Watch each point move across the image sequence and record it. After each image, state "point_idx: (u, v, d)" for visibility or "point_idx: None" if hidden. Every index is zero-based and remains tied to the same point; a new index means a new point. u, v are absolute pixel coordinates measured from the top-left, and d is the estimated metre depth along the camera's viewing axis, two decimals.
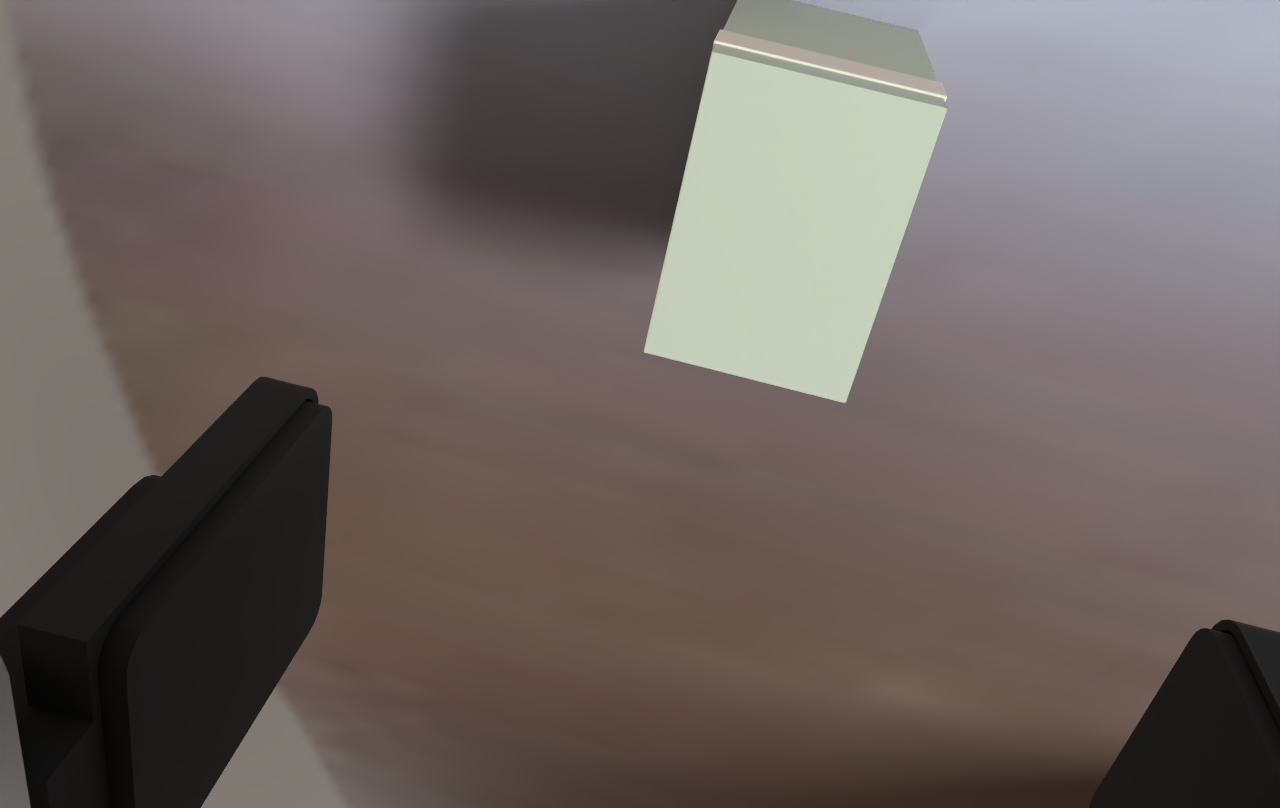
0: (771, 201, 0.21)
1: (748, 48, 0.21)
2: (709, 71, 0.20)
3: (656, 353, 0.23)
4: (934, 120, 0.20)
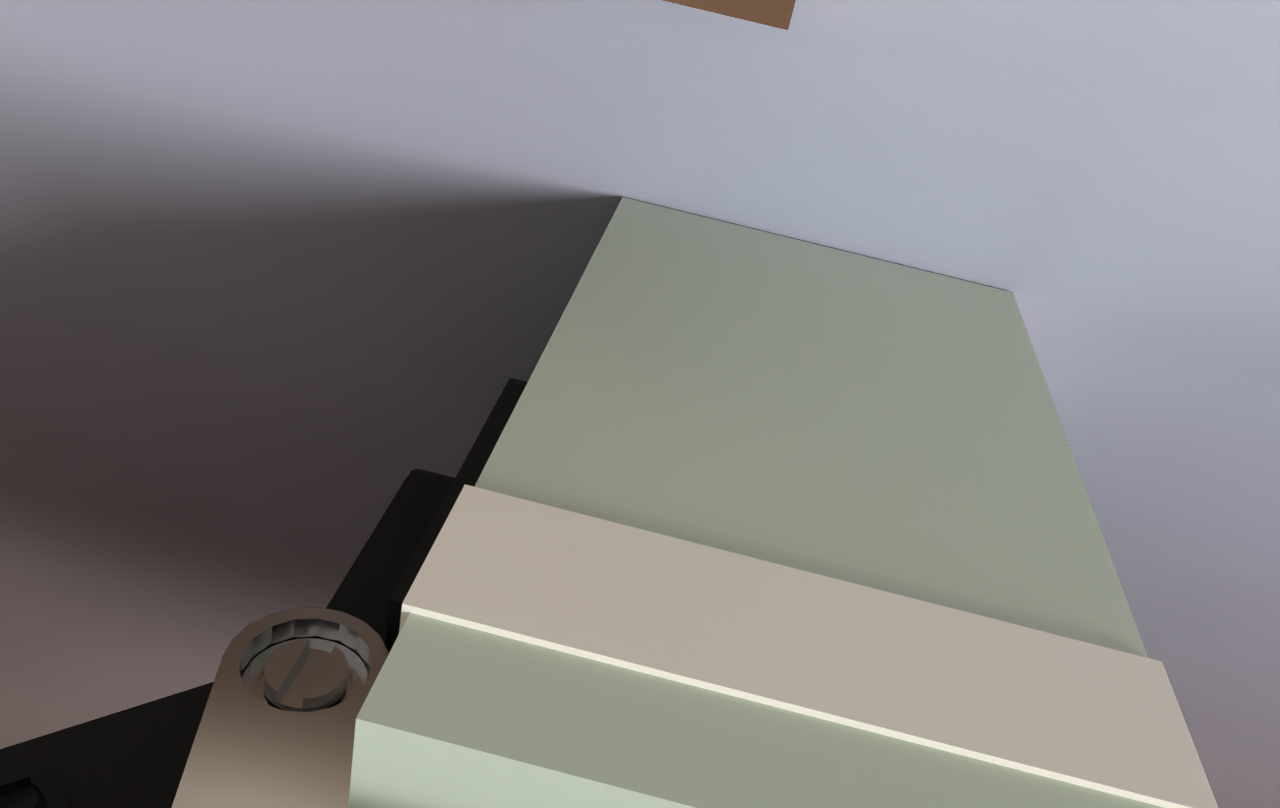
0: None
1: (522, 629, 0.06)
2: (357, 769, 0.06)
3: None
4: None
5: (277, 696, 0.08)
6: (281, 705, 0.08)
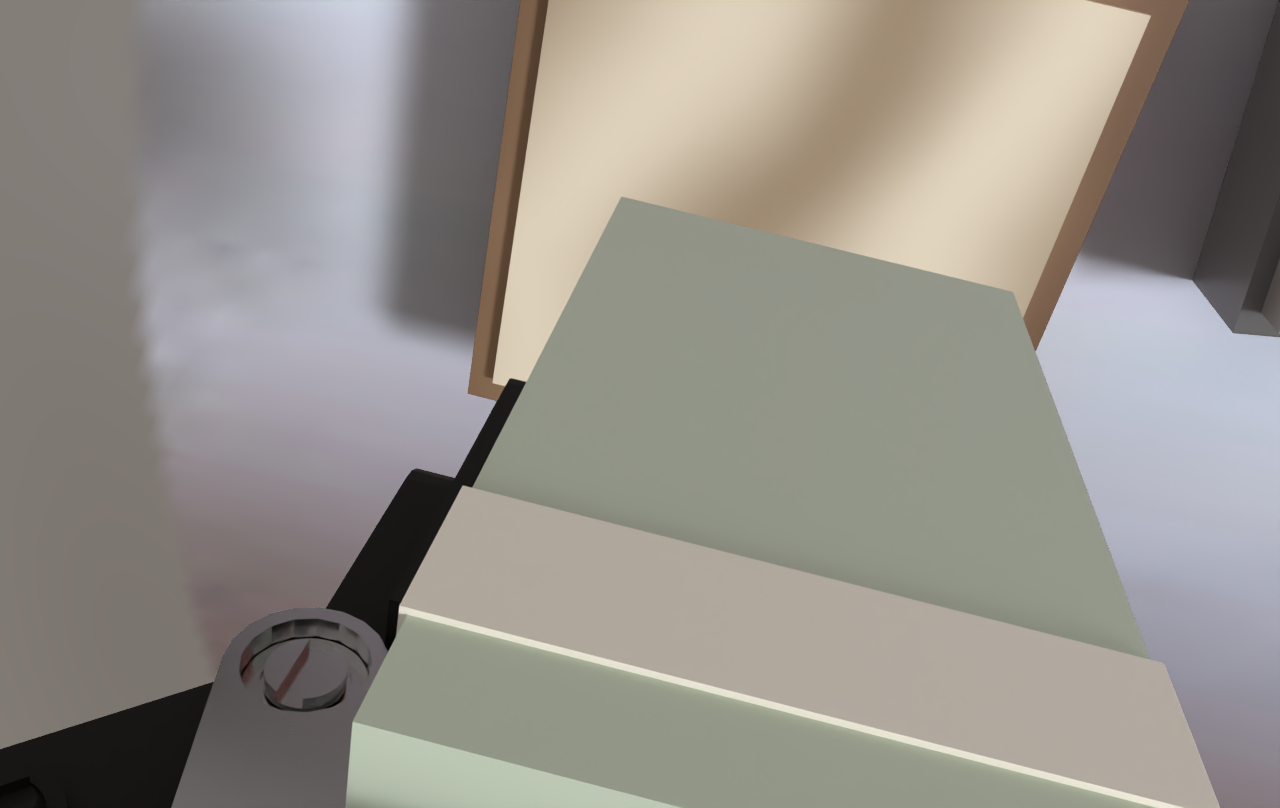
0: None
1: (520, 631, 0.06)
2: (354, 773, 0.05)
3: None
4: None
5: (276, 696, 0.08)
6: (280, 705, 0.08)
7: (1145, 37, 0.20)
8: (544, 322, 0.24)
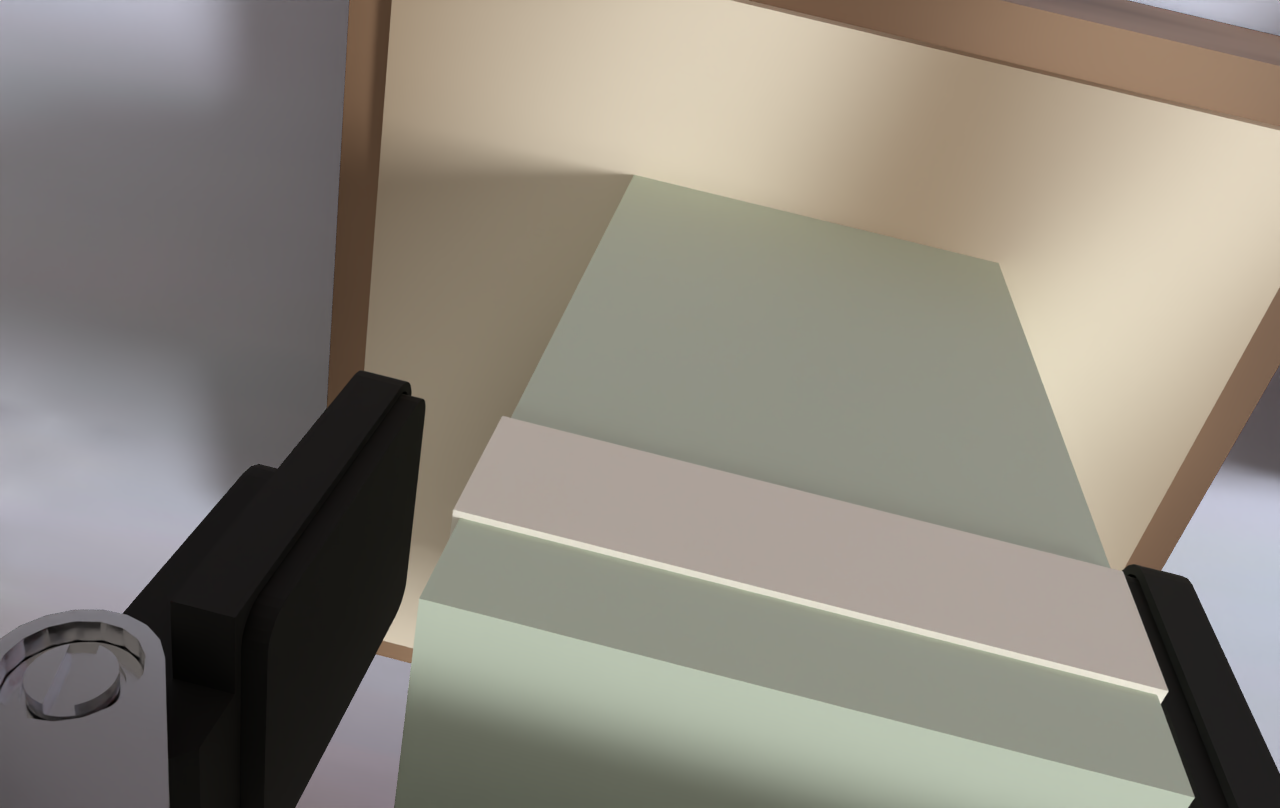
0: None
1: (558, 532, 0.07)
2: (418, 646, 0.06)
3: None
4: None
5: (43, 709, 0.07)
6: (50, 717, 0.07)
7: None
8: (411, 557, 0.17)
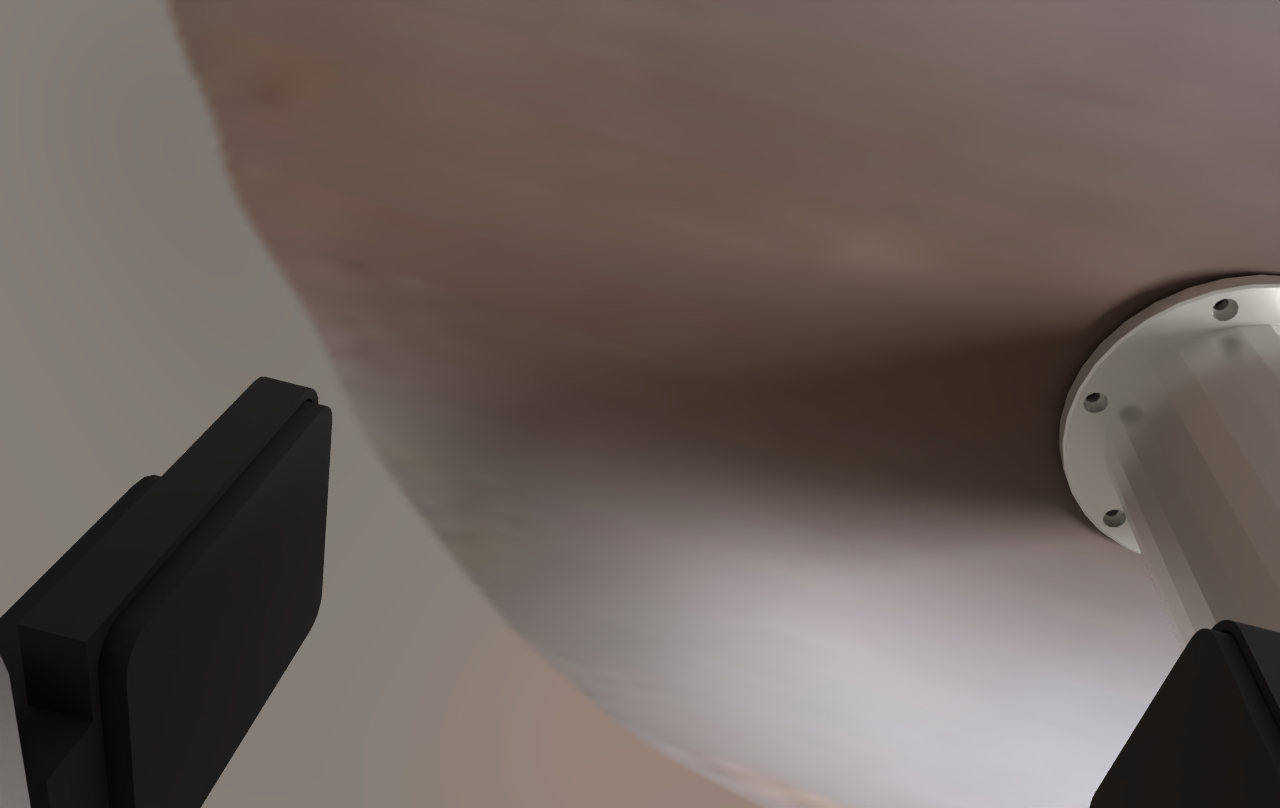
0: None
1: None
2: None
3: None
4: None
5: None
6: None
7: None
8: None
